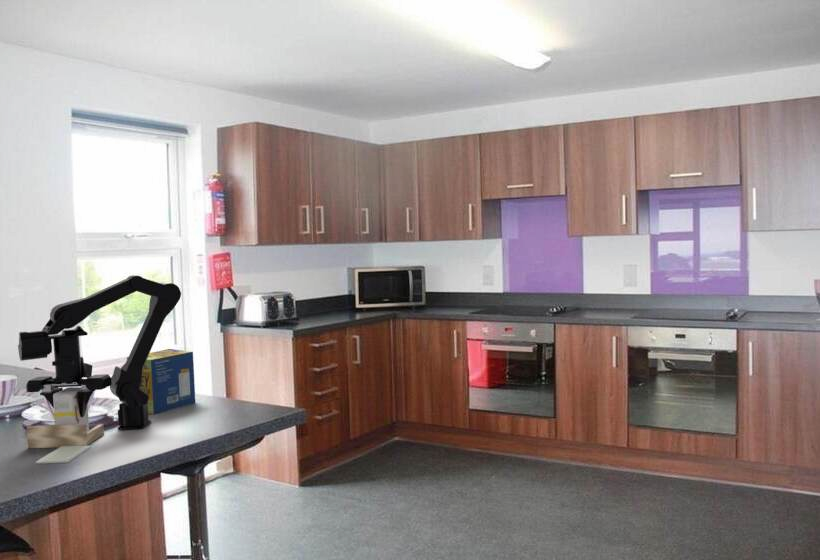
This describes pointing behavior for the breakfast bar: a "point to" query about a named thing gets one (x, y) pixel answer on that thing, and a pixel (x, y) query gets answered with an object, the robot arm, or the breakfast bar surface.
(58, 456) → the coaster pad
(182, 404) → the protein box
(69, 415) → the ink box
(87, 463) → the breakfast bar surface
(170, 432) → the breakfast bar surface
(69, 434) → the shelf bay
